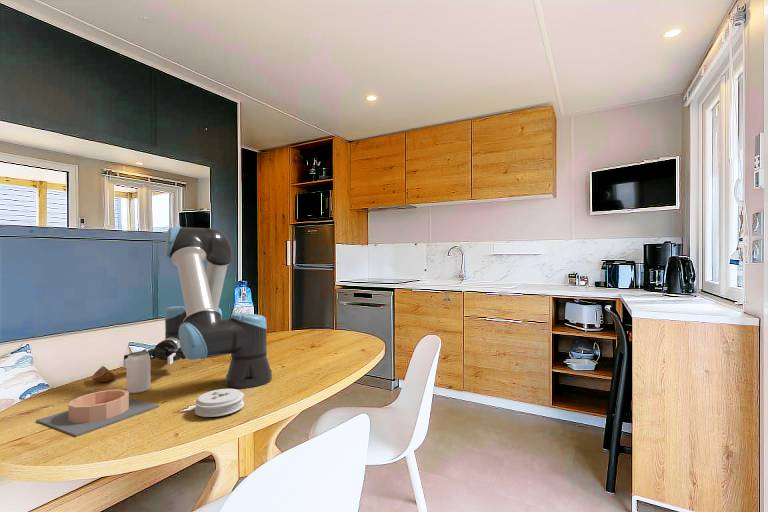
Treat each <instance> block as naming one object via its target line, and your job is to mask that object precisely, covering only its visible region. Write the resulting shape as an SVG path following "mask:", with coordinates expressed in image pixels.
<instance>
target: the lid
mask: <svg viewBox="0 0 768 512" xmlns="http://www.w3.org/2000/svg"><path fill="white" fill-rule="evenodd" d="M244 398H245V393H243V392H242V391H241V390H239V389H238V388H237V389H236V388H220V389H215V390H211V391H207V392H205V393H202V394H201V395H199V396H198V397H197V398H196V399H195V400H194V405H195V409H194V414H195V415H197V416H199V417H205V418H211V417H221V416H222V417H223V416H227V415H229V414H233V413H235V412H238V411H239V410H241V409H242V408H243V407H244V406H245V401H244Z"/></svg>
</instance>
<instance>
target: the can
mask: <svg viewBox="0 0 768 512" xmlns="http://www.w3.org/2000/svg"><path fill="white" fill-rule="evenodd" d="M139 351H140V352H139ZM139 351H134V352H130V353H128V354H127V355H128V358H127V368H126V391H129V394H140V392H141V393H144V392H147V391H149V389H150V388H151V359H150V355H149V354H148V353H149V352H147V351H148V350H147V351H142V350H139Z"/></svg>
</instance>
